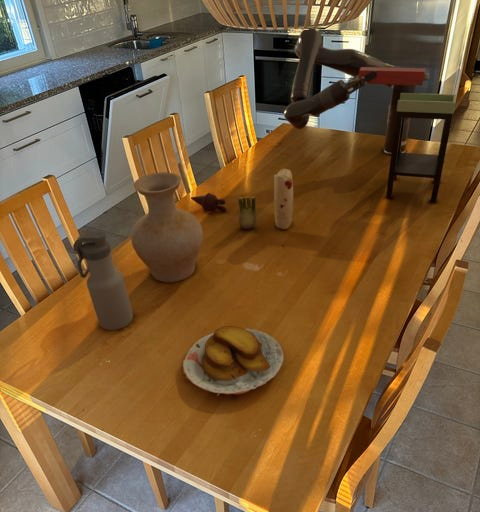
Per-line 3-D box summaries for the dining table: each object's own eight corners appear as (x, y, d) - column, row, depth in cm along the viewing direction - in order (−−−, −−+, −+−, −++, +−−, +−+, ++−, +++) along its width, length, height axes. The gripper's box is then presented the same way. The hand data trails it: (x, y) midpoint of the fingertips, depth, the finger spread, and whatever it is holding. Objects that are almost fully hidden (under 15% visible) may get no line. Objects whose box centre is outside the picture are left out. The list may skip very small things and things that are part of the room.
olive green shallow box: (399, 103, 179) (400, 92, 177) (454, 105, 173) (456, 94, 171) (396, 111, 172) (397, 100, 170) (453, 113, 167) (455, 102, 165)
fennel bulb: (258, 226, 183) (256, 195, 175) (252, 232, 179) (250, 201, 172) (243, 223, 185) (241, 193, 177) (237, 230, 181) (235, 199, 174)
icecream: (184, 197, 191) (220, 205, 186) (193, 184, 194) (229, 192, 190) (188, 210, 196) (222, 219, 192) (196, 198, 200) (231, 207, 195)
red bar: (360, 80, 185) (361, 67, 182) (428, 82, 178) (430, 68, 175) (358, 83, 182) (359, 70, 179) (427, 85, 175) (429, 71, 172)
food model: (293, 231, 178) (293, 177, 165) (274, 232, 179) (273, 178, 166) (293, 218, 186) (293, 165, 173) (274, 218, 186) (273, 166, 174)
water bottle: (92, 330, 143) (64, 244, 125) (104, 309, 150) (79, 224, 133) (127, 332, 141) (103, 244, 124) (137, 310, 149) (116, 225, 131)
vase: (133, 260, 170) (113, 175, 151) (196, 245, 175) (184, 161, 156) (146, 296, 154) (125, 205, 135) (215, 279, 159) (204, 189, 140)
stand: (391, 177, 206) (402, 94, 186) (438, 181, 201) (454, 96, 181) (385, 198, 193) (396, 111, 172) (435, 203, 187) (453, 113, 167)
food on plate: (173, 398, 121) (168, 379, 117) (195, 330, 140) (192, 312, 136) (280, 405, 117) (279, 385, 113) (288, 334, 136) (287, 315, 132)
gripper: (325, 91, 183) (369, 66, 173) (333, 80, 193) (375, 56, 183) (334, 110, 186) (378, 87, 176) (342, 98, 196) (384, 76, 186)
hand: (376, 71), depth 180 cm, fingers closed on red bar, 4 cm apart
